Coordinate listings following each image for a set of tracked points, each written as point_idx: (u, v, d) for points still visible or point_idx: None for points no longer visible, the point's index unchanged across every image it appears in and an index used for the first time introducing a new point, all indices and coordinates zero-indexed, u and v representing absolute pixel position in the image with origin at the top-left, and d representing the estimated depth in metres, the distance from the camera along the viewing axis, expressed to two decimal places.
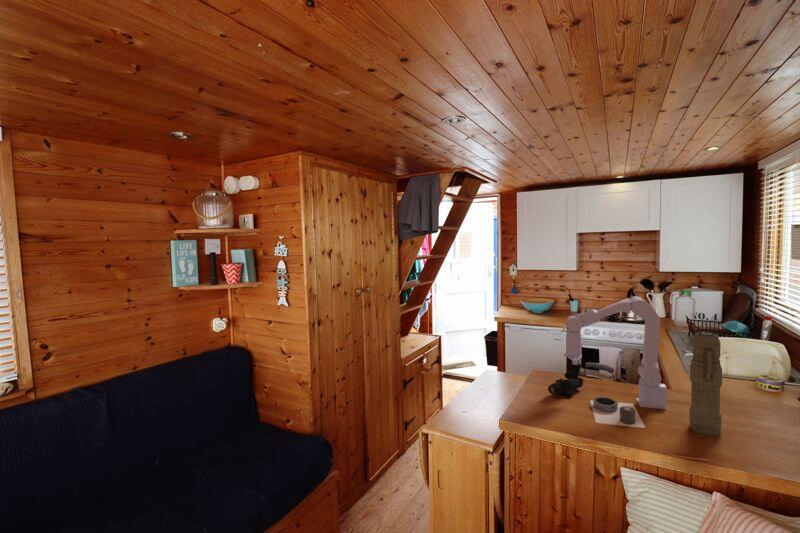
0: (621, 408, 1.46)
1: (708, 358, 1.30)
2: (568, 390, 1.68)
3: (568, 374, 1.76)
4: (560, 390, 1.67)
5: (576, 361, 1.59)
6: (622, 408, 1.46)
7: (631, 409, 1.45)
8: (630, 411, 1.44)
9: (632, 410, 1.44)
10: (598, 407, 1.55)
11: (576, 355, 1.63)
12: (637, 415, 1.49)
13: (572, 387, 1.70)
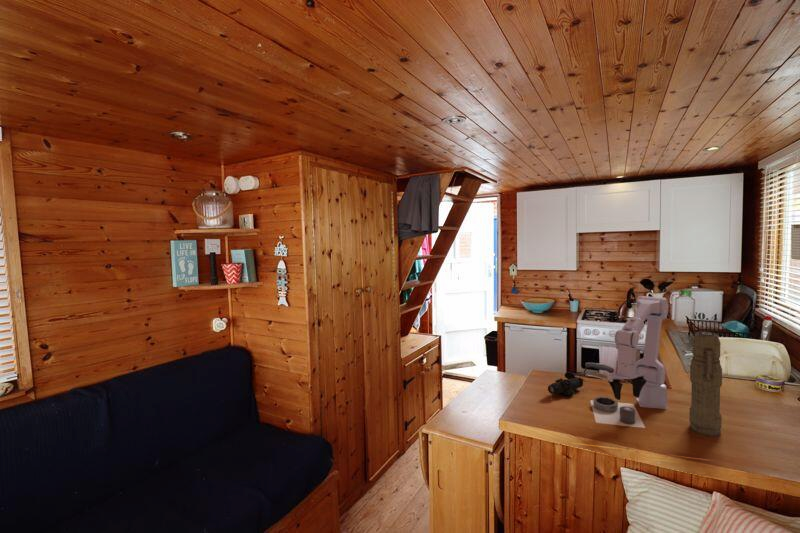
0: (621, 408, 1.46)
1: (708, 358, 1.30)
2: (568, 390, 1.68)
3: (569, 374, 1.76)
4: (560, 390, 1.67)
5: (609, 377, 1.43)
6: (622, 408, 1.46)
7: (631, 409, 1.45)
8: (630, 411, 1.44)
9: (632, 410, 1.44)
10: (598, 407, 1.55)
11: (621, 373, 1.43)
12: (637, 415, 1.49)
13: (572, 387, 1.70)
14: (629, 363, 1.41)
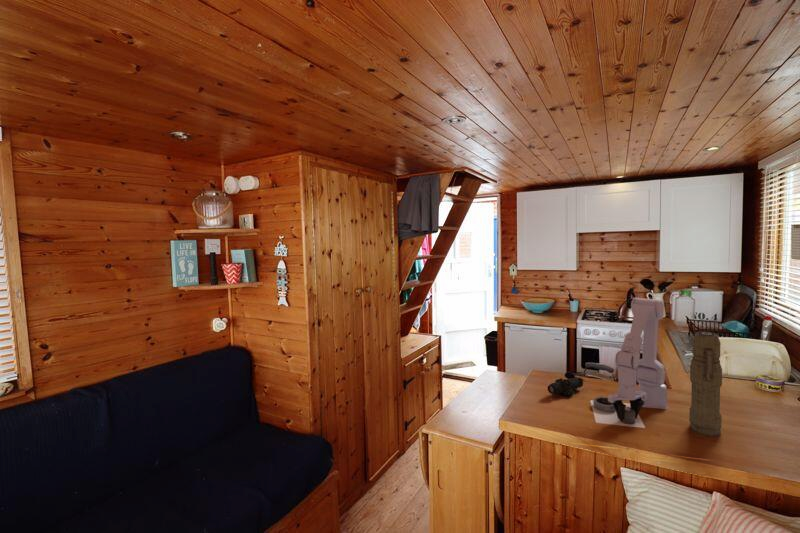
0: None
1: (708, 358, 1.30)
2: (568, 390, 1.69)
3: (568, 374, 1.76)
4: (559, 390, 1.67)
5: (610, 399, 1.43)
6: None
7: (631, 409, 1.45)
8: (630, 411, 1.44)
9: (632, 410, 1.44)
10: (598, 407, 1.55)
11: (621, 394, 1.43)
12: None
13: (572, 387, 1.70)
14: (630, 385, 1.41)
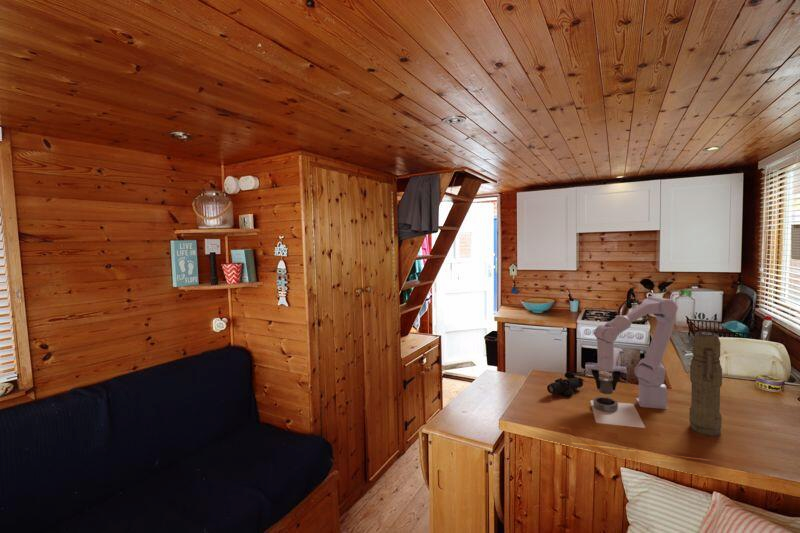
0: (601, 379, 1.57)
1: (708, 358, 1.30)
2: (567, 390, 1.69)
3: (568, 374, 1.76)
4: (559, 390, 1.68)
5: (585, 367, 1.57)
6: (602, 379, 1.57)
7: (610, 381, 1.55)
8: (606, 382, 1.54)
9: (609, 381, 1.54)
10: (598, 407, 1.55)
11: (598, 365, 1.55)
12: (637, 415, 1.49)
13: (571, 387, 1.70)
14: (603, 356, 1.53)
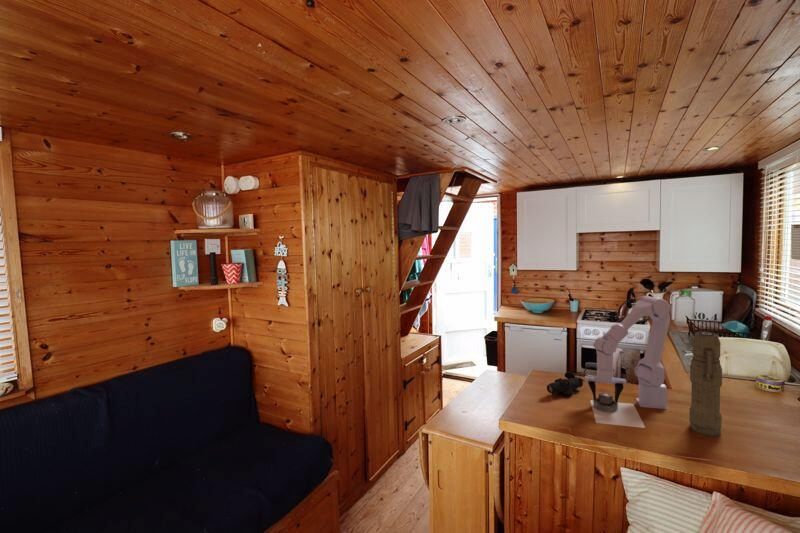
0: (600, 394, 1.58)
1: (708, 358, 1.30)
2: (567, 390, 1.69)
3: (568, 373, 1.76)
4: (558, 389, 1.68)
5: (585, 378, 1.58)
6: (601, 394, 1.58)
7: (609, 396, 1.55)
8: (606, 397, 1.55)
9: (609, 397, 1.55)
10: (598, 407, 1.55)
11: (597, 376, 1.56)
12: (637, 415, 1.49)
13: (571, 387, 1.70)
14: (602, 368, 1.53)
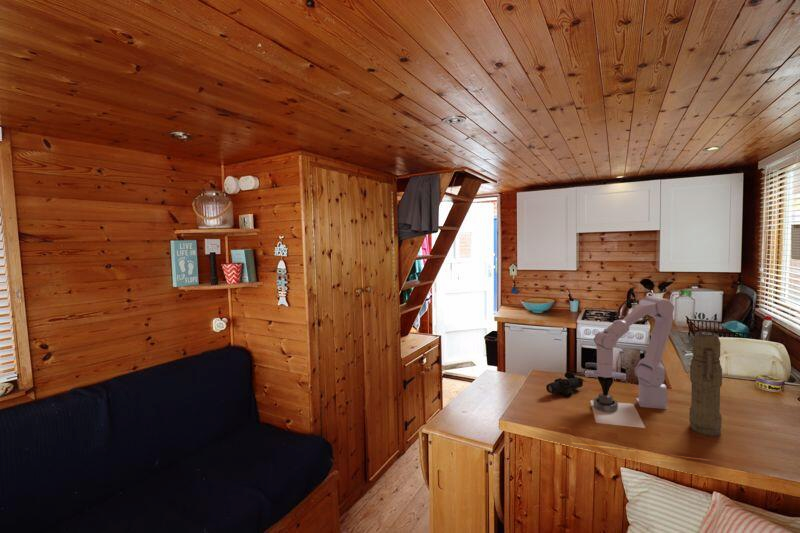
0: (600, 394, 1.58)
1: (708, 358, 1.30)
2: (566, 390, 1.69)
3: (568, 373, 1.76)
4: (558, 389, 1.68)
5: (585, 373, 1.58)
6: (601, 394, 1.58)
7: (609, 396, 1.56)
8: (606, 397, 1.55)
9: (609, 397, 1.55)
10: (598, 407, 1.55)
11: (597, 371, 1.56)
12: (637, 415, 1.49)
13: (571, 387, 1.70)
14: (602, 362, 1.53)
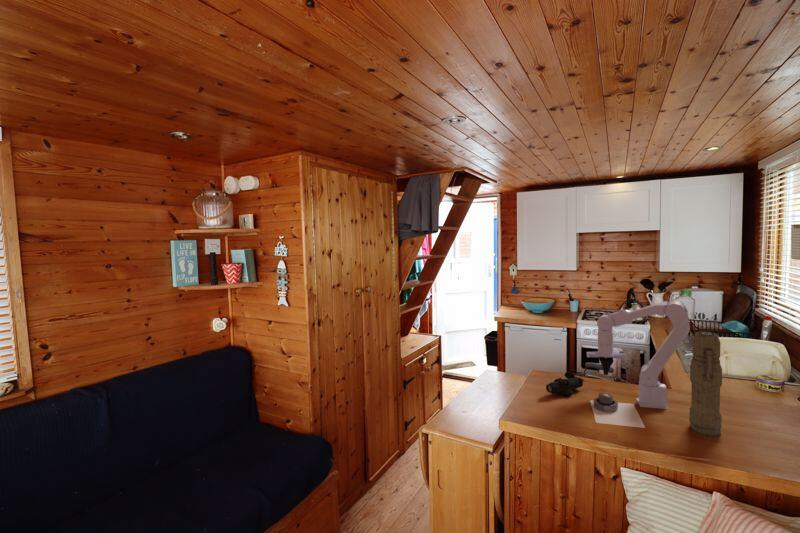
0: (600, 394, 1.58)
1: (708, 358, 1.30)
2: (566, 389, 1.69)
3: (568, 373, 1.76)
4: (558, 389, 1.68)
5: (587, 354, 1.68)
6: (601, 394, 1.58)
7: (609, 396, 1.56)
8: (606, 397, 1.55)
9: (609, 397, 1.55)
10: (598, 407, 1.55)
11: (598, 352, 1.66)
12: (637, 415, 1.49)
13: (571, 387, 1.71)
14: (599, 342, 1.65)
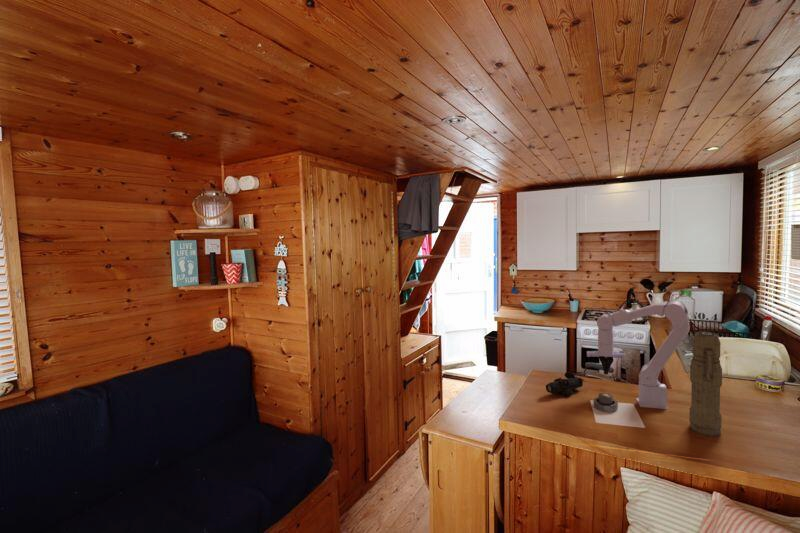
0: (600, 394, 1.58)
1: (708, 358, 1.30)
2: (566, 389, 1.69)
3: (568, 373, 1.76)
4: (557, 389, 1.68)
5: (587, 353, 1.69)
6: (601, 394, 1.58)
7: (609, 396, 1.56)
8: (606, 397, 1.55)
9: (609, 397, 1.55)
10: (598, 407, 1.55)
11: (598, 351, 1.67)
12: (637, 415, 1.49)
13: (570, 387, 1.71)
14: (599, 342, 1.66)
